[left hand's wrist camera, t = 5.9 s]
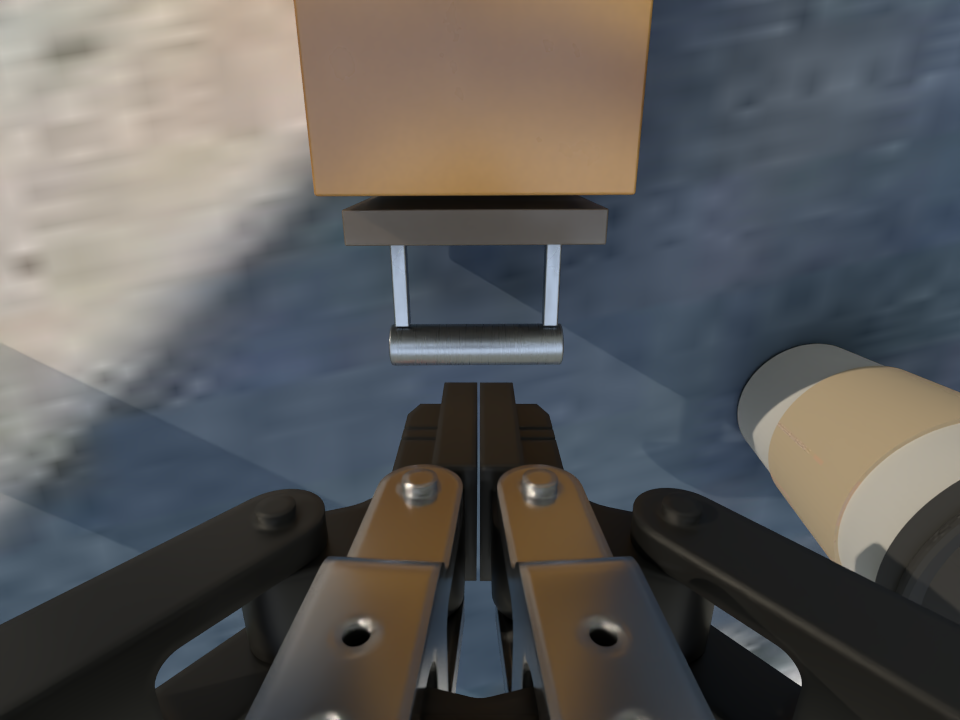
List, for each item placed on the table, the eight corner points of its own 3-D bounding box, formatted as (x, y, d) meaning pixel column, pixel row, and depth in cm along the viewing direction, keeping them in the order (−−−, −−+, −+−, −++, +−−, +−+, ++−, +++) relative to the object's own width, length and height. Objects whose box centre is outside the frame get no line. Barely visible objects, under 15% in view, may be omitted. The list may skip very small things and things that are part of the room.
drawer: (567, 334, 27) (594, 390, 21) (385, 335, 27) (357, 391, 21) (605, -351, 18) (672, -616, 12) (338, -351, 18) (265, -615, 12)
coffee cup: (916, 416, 30) (1312, 654, 16) (766, 503, 32) (998, 785, 18) (844, 287, 27) (1240, 433, 13) (685, 391, 29) (881, 615, 15)
